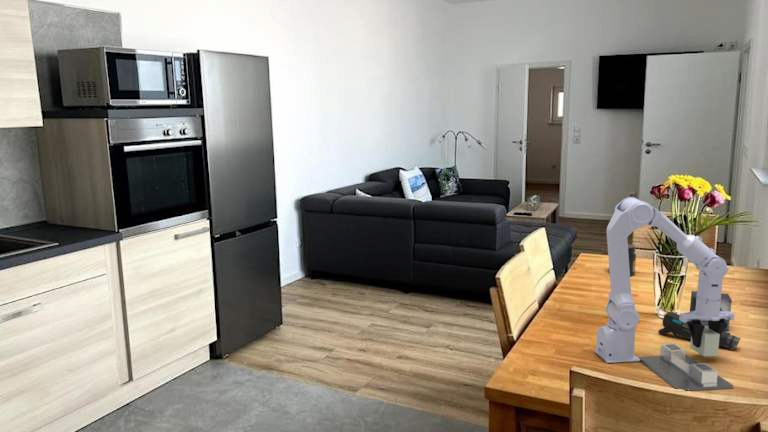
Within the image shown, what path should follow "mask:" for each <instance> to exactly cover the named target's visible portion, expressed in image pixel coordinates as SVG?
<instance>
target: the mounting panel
mask: <svg viewBox="0 0 768 432" xmlns="http://www.w3.org/2000/svg"><path fill="white" fill-rule="evenodd" d="M659 351H660V353H659V355H650V356H637V357H638V358H639V359H640V361H639V362H640V363H642V364H643V365H644V366H645V367H647V368H648V369H649V370H650V371H652V372H653V373H655V374H656V375H657V376H658V377H659V378H661V379H662V380H663V381H665V382H666V383H668V384H669V385H670V386H671V387H672V386H673V387H672V388H673V389H675V388H677V389H683V390H688V389H689V390H696V391H709V390H710V391H711V390H725V389H727V390H729V389H734V384H732V383H731V382H729V381H728V380H726V379H725V378H723V377H722V376H720V375H718V374H719V373H718V372H719V371H718V370H716V369H715V368H713V367H712V366H711V365H709V364H707V363H706V362H702V363H701V362H699V361H697V360H696V359H694V358H693V357H691V356H690V355H688V354H686V351H687V350H685V349H684V348H682V347H681V346H679V345H678V344H677V343H661V344H660V350H659Z"/></svg>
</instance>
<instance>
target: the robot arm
mask: <svg viewBox="0 0 768 432" xmlns="http://www.w3.org/2000/svg"><path fill="white" fill-rule="evenodd" d="M646 225H647V226H650V227H656V228H657V229H658V230H660V231H661V232H662V233H664V234H665V235H666V236H667V237H668V238H670V239H671V240H672V241H674V242H675V243H676V250H677V251H678V252H679V253H680V254H681V255H682V256H683V257H685V259H686V260H688V261H689V262H691V264H693V265H694V266H695V268H696V269H697V270H699V271H698V276H697V277H698V280H697V288H696V291H697V298H696V310H695V311H691V312H690V311H687V312H680V313H679V315H680V317H679V320H680V321H682V322H686V323H687V325H688V327H689V330H690V333H691V336H692V341H693V345H694V346H696V347H700V344H701V337H702V333H703V330H704V328H705V326H704V325H702V324H701V322H700V321H708V325H709V329H711V330H713V331H714V332H716V333H718V334H720V335H721V334H722V332H723V331H724V330H725V328H726V327H727V326H728V323H727V322H725V320H730V321H735V314H736V313H734V312H732V311H720V302H721V293H722V290H723V280H724V277H725V276H726V275H727V274H728V272H729V268H730V267H728V265H727V261H726V260H725V259H724V258H723V257H721V256H719V255H717V254H715V253H716V250H715V249H713V248H712V247H710V248H709V247H708V246H707V245H706V244H705V243H704V242H703V238H702V237H701V236H698V235H696V236H695V234H686V233H685V232H684V231H682V230H681V229H680V228H679V227H678V226H677V225H676V224H675V223H674V222H673V221H672V220H670V218H669V217H667V216H666V214H664V212H662V211H660V210H659V209H658V208H656V207H653V206H652V205H651V204H650V203H648V202H647V201H642V200H640V199H638V198H636V197H633V196H630V197H625V198H624V199H622V200H621V201H620V202H619V203H618V204H617V205H615V208H614V213H613V214H612V216H611V218H610V221H608V224H607V227H606V244H607V245H606V246H607V255H608V256H607V257H608V269H609V270H608V273H609V272H610V273H609V283H610V285H609V286H610V292H609V293H608V301H607V304H606V306H605V312H606V314H607V316H608V320H607V324H606V325H603V326H599V327H598V329H597V332H596V340H595V341H596V344H595V350H594V353H596V354H597V355H598V356H599V357H600V358H601V359H602V360H603V361H604V362H605V363H607V364H610V363H612V364H613V363H614V364H615V363H631V362H640V359H639V358H638V357H639V356H637V355H635V342H636V327H637V326H639V325H638V324H639V322H640V315H639V313H638V311H637V309H636V305H635V301H634V297H633V295H632V294H633V293H632V288H631V286H632V285H631V276H630V269H629V254H628V244H629V243H628V241H629V240H628V237H629V236H630V235H632V233H633V232H634V231H636V230H638V229H641V228H642V227H644V226H646Z"/></svg>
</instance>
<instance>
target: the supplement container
mask: <svg viewBox="0 0 768 432" xmlns="http://www.w3.org/2000/svg"><path fill="white" fill-rule="evenodd" d="M636 247H637V246H635V245H633V244H629V243H628V254H629V269H630V277H632V276H634V275H635V274H636V262H637V261H636V260H637V254H636ZM608 273H609V274H610V272H609V268H608Z"/></svg>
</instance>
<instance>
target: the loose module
mask: <svg viewBox="0 0 768 432" xmlns="http://www.w3.org/2000/svg"><path fill="white" fill-rule="evenodd" d="M719 337H720V334H718V333H716V332H714V331H713V330H711V329H709V328H707V327H705V328H704V330H703V333H702V337H701V344H700V347H696V346H694V345H693V341H692V336H691V340H690V345H689V346H690V347H689V348H690V349H691V350H693V351H694V352H696V353H698V354H699V355H700V356H702V357H715V356H716V357H717V356H718V355H719V348H720V347H719Z"/></svg>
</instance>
